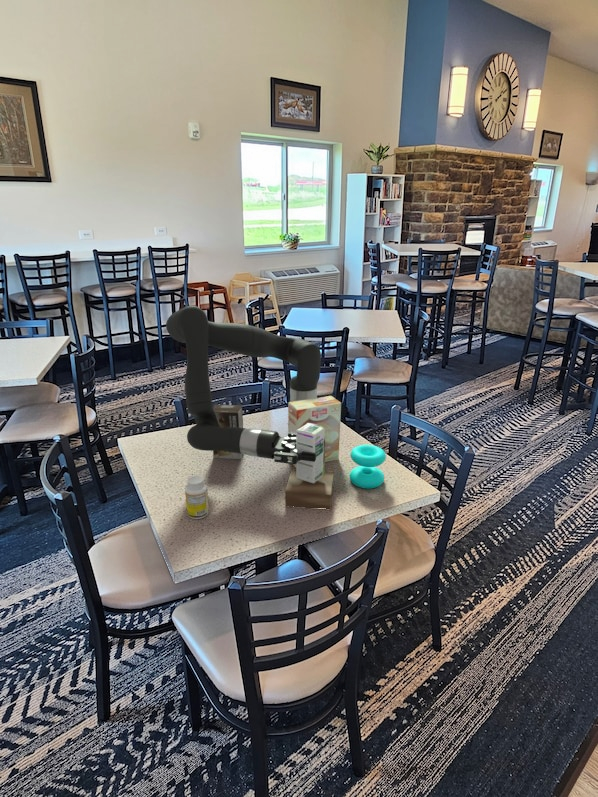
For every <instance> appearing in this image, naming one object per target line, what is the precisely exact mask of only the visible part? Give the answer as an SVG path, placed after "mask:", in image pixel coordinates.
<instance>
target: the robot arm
mask: <svg viewBox="0 0 598 797" xmlns="http://www.w3.org/2000/svg"><path fill="white" fill-rule="evenodd" d="M165 327H166V331H167V333H168V335H169V336H170V337H171V338H172V339H173V340H175V341H177V342H179V343H184V344H185V348H186V354H187V356H186V357H187V358H186V359H187V360H186V369H185V377H184V392H185V393H184V395H185V400H186V408H187V411H188V414H189V415H190V416H193V419H194V421H195V425H193V426H191V427H190V429H189V430H188V431H187V434H186V440H187V442H188V444H189V446H191V447H192V448H193V449H196V450H197V451H198V450H199V451H209V452H213V451H228V452H233V453H240V454H243V455H246V456H249V457H255V458H256V457H257V458H261V459H270V460H273V461H274V463H280V464H290V465H293V464H297V461H301V460H305V461H312V462H315V460H316V454H315V453H311V452H304V451H302V453H301V451H299V450H297V449H296V433H294V432H288V431H287V436H281V435H280V434H279V432H278V431H275V430H267V429H260V428H247V427H246V428H244V427H243V428H238V427H226V428H220V427H219V423H218V420H217V417H216V414H215V412H214V409H213V407H214V404H213V398H212V392H211V385H210V383H211V382H210V373H209V372H210V371H209V347H213V348H216V349H219V350H223V351H227V352H232V353H235V354H238V355H243V356H247V357H252V358H275V359H278V360H281V361H283V362H286V363H289V364H290V365H292V366H295V367H296V375H295V376H293V377H291V378H290V379H289V380H290V382H289V395H290V396H289V397H290V398H289V402H294V401H300V400H307V399H313V398H318V383H319V380H320V377H321V366H322V365H321V363H322V354H321V350H320V347H319V346H318V345H317V344H315V343H314V342H311V341H308V340H306V339H302V338H296V337H295V338H294V337H289V336H282V335H281V336H280V335H277V334H274V333H273V332H270V331H268V330H267V329H264V328H261V327H258V326H253V325H250V324H246V323H241V322H240V323H238V322H214V321H209V319H208V317H207V314H206V312H205V311H204V310H203V309H202V308H201V307H199V306H196V305H188V306H185V307H183V308H180V309H178V310H176V311H174V312H173V313H172V314H171V315H170V316H169V317H168V318H167V320H166V324H165ZM288 458H289V459H291V460H289V459H288Z"/></svg>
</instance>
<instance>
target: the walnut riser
mask: <svg viewBox="0 0 598 797" xmlns="http://www.w3.org/2000/svg"><path fill="white" fill-rule="evenodd" d="M334 474H335V473H334V471H325V470H324V475H323V476H322V477H321V478H320V479H318V480H317V481H316V482H315V483H310V482H307V481H304V480H301V479H299V478H297V477H296V469H294V468H292V469H291V470H290V474H289V477H288V481H287V484H286V486H285V487H286V488H285V491H284V493H285V494H284V496H285V498H284V500H285V502H284V504H285V506H289V507H288V508H297V507H305V508H304V509H310V508H326V509H330V508H331V506H332V501H331V500H333V493H332V492H333V491H334V476H335V475H334ZM293 506H294V507H293ZM330 510H331V509H330Z"/></svg>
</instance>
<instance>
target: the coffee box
mask: <svg viewBox="0 0 598 797" xmlns="http://www.w3.org/2000/svg"><path fill="white" fill-rule="evenodd" d="M213 409H214V412H215V414H216V417H217V420H218V423H219V427H220V428H226V427H238V428H244V415H243V405H241V404H213ZM212 454H213V459H224V460H225V459H232V460H241V459H242V457H243V455H244V454H240V453H233V452H228V451H212Z"/></svg>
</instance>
